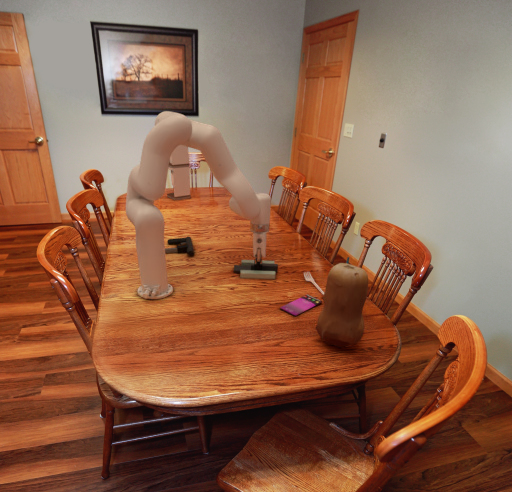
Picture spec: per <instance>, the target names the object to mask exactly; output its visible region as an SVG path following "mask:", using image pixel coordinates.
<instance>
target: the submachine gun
mask: <svg viewBox="0 0 512 492" xmlns="http://www.w3.org/2000/svg"><path fill="white" fill-rule="evenodd" d="M193 242H194V239H193V238H192V237H191V236H186V237H178V238H177V237H176V238H169V239H167V244H168V245H176V247H167V248H166V247H165V254H175V253H177V254H187V255H188V257H194V254H195V253H196V251H195V249H194V245H193V244H194V243H193Z"/></svg>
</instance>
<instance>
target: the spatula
mask: <svg viewBox="0 0 512 492" xmlns="http://www.w3.org/2000/svg"><path fill="white" fill-rule="evenodd" d="M278 269H279V265H278V263H275V264H263V263H262V271H275V274H276V273H278ZM241 270H253V271H254V263H251V266H248V265H241V264H233V273H239V274H240V271H241Z"/></svg>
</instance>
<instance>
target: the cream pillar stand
mask: <svg viewBox="0 0 512 492" xmlns="http://www.w3.org/2000/svg"><path fill="white" fill-rule="evenodd" d="M169 170H170V179H171V182H170V183H171V185H172V187H173V192H168V193H166V197H167V198H169V199H171V200H174V201H180V200H181V201H182V200H188V199H191V198H192V197H191V196H192V195H191V177H190V175H191V174H190V155H189V147H186V146H183V145H179V146H177V147H176V148H175V149H174V151H173V152H172V154H171V157H170V161H169V166H168V171H169Z"/></svg>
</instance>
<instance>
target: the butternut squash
mask: <svg viewBox="0 0 512 492" xmlns="http://www.w3.org/2000/svg"><path fill="white" fill-rule="evenodd" d="M326 277H327V278H326V283H325V289H324V290H325V291H324V295H323V294H322V302H323V307H322V309H321V311H320V313H319V315H318V317H317V320H316V321H317V322H316V325H315V330H316V332H317V333H318V336H319V337H320V338H321V340H322V341H323V342H324V343H325V344H327V345H331V346H335V347H337V348H347V347H351V346H354V345H356V344H358V343H359V342H360V341H361V340H362V338H363V336H364V333H365V320H364V317H363V309H364V307H365V303H366V301H367V297H368V292H369V291H368V290H369V275H368V273H367V271H366V270H365V269H364V268H362V267H359V266H357V265H353V264H350V263H348V264H347V262H345V263H344V262H339V263H337V264H336V265H334V266H332V267H331V268H330V270H329V272H328V274H327V276H326Z"/></svg>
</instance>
